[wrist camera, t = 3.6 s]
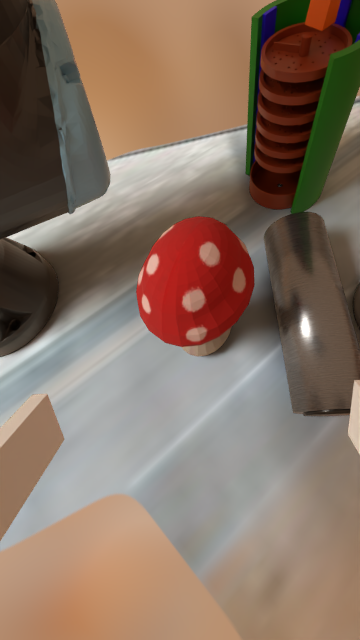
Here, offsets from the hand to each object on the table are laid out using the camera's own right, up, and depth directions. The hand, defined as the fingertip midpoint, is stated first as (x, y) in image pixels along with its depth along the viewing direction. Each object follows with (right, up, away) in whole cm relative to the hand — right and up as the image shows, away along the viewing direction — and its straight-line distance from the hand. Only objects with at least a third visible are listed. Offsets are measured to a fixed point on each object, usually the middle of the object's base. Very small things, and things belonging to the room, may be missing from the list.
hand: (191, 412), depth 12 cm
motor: (+13, +22, +24) cm, 35 cm away
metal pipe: (+12, +4, +16) cm, 21 cm away
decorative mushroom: (+2, +3, +18) cm, 19 cm away
